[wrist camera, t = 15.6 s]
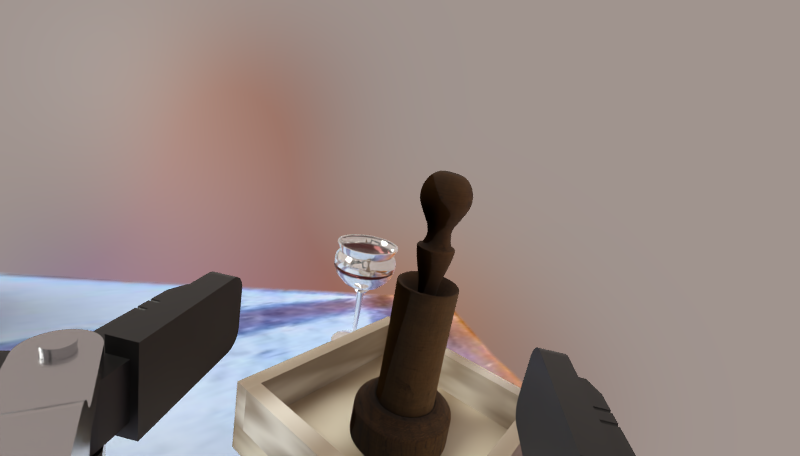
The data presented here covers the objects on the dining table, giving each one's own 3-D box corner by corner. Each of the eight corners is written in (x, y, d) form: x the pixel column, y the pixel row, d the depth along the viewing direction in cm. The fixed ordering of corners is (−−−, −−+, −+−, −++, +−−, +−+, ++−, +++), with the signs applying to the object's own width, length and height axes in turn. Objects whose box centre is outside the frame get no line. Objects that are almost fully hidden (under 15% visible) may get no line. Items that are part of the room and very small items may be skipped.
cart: (229, 482, 27) (237, 381, 25) (374, 390, 39) (388, 316, 37) (401, 689, 19) (434, 563, 17) (520, 491, 31) (548, 403, 28)
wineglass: (392, 351, 46) (411, 253, 43) (339, 363, 42) (356, 256, 39) (363, 322, 51) (378, 233, 48) (313, 331, 47) (326, 234, 44)
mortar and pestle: (418, 394, 32) (468, 169, 27) (463, 460, 26) (534, 190, 22) (337, 406, 29) (378, 157, 24) (368, 483, 23) (428, 177, 19)
